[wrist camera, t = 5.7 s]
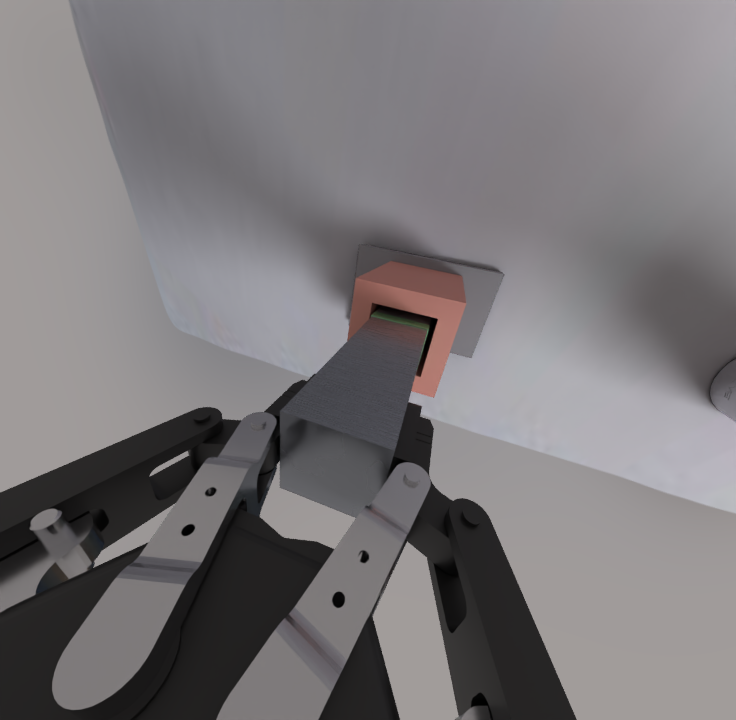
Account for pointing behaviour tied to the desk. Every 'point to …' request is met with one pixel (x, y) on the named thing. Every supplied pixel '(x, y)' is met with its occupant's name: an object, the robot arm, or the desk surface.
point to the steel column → (352, 414)
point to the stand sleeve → (426, 303)
